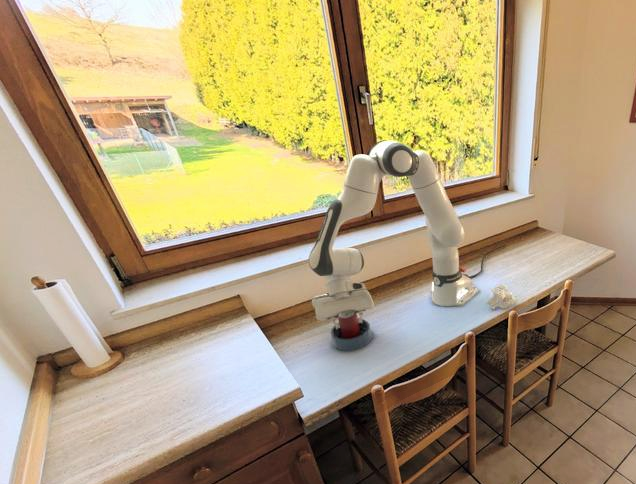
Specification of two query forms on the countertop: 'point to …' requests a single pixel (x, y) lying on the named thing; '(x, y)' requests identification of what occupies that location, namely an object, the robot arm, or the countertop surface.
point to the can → (349, 324)
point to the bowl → (353, 342)
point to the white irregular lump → (501, 298)
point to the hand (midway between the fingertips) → (349, 326)
